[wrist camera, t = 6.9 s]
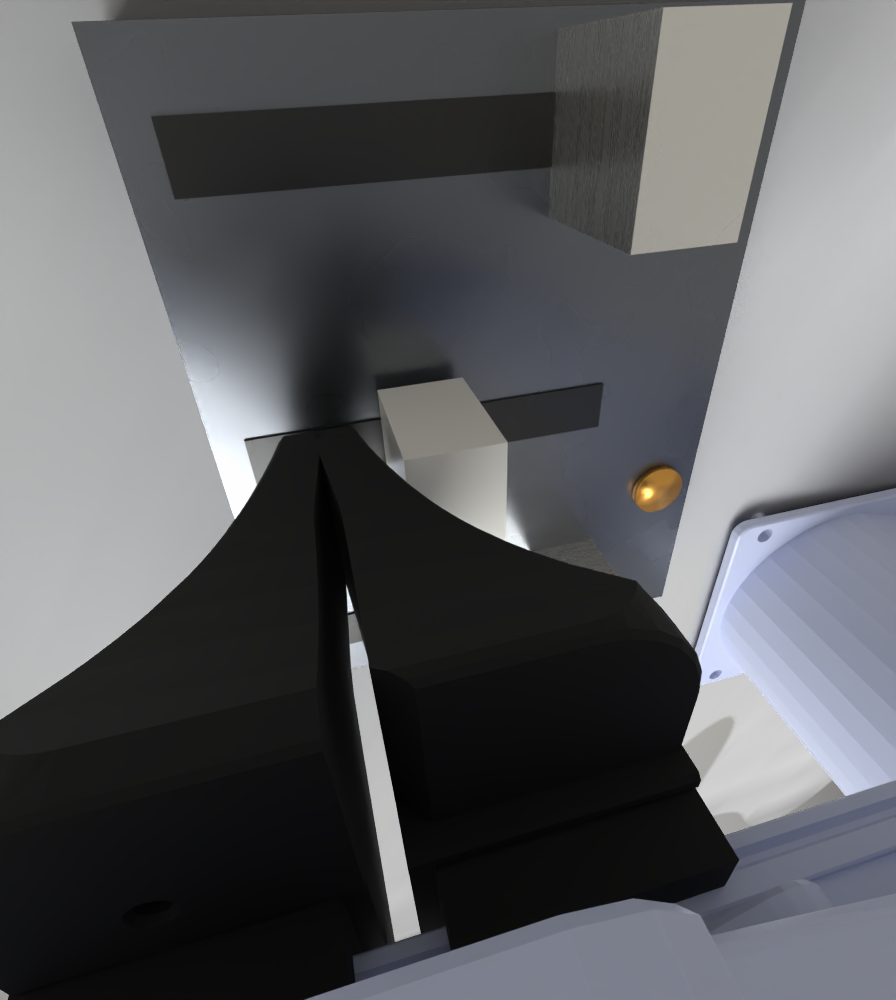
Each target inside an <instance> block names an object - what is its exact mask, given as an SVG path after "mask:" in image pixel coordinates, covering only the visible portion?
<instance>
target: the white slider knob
mask: <svg viewBox="0 0 896 1000" xmlns="http://www.w3.org/2000/svg"><path fill="white" fill-rule="evenodd" d="M377 393H378V400H379V408H380V416H381V424H382V432H383V440H384V448H385V456H386V464H387V465H388V466H389V467H390V468H391V469H393V470H394V471H395V472H396V473H397V474H398V475H399V476H400V477H401V478H403V479H404V480H405V481H406V482H407V483H409V484H410V485H411V486H412V487H414V488H415V489H416V490H417V491H419V492H420V493H421V494H423V495H424V496H425V497H427V498H428V499H429V500H431V501H432V502H434V503H435V504H437V505H438V506H440V507H441V508H443V509H444V510H446V511H448V512H449V513H451V514H453V515H454V516H456V517H458V518H459V519H461V520H463V521H465V522H467V523H469V524H471V525H473V526H474V527H476V528H478V529H481V530H483V531H485V532H487V533H489V534H492V535H494V536H496V537H498V538H500V539H502V540H505V541H506V504H507V450H508V442H507V441H506V439H505V438H504V436H503V435H502V433H501V432H500V431H499V429H498V428H497V426H496V425H495V423H494V422H493V420H492V419H491V418H490V416H489V415H488V413H487V412H486V410H485V409H484V407H483V406H482V405H481V403H480V402H479V400H478V399H477V397H476V396H475V394H474V393H473V392H472V390H471V389H470V387H469V386H468V384H467V383H466V381H465V380H464V379H463V377H462V378H455V379H448V380H442V381H435V382H428V383H422V384H415V385H408V386H402V387H395V388H388V389H382V390H377Z"/></svg>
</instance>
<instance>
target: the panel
mask: <svg viewBox="0 0 896 1000" xmlns="http://www.w3.org/2000/svg"><path fill="white" fill-rule="evenodd" d="M805 1H806V0H728V1H697V2H667V3H636V4H605V5H574V6H543V7H513V8H482V9H451V10H420V11H390V12H359V13H328V14H297V15H267V16H236V17H205V18H174V19H144V20H113V21H82V22H72V25H73V28H74V31H75V34H76V37H77V40H78V43H79V46H80V49H81V52H82V55H83V59H84V62H85V65H86V68H87V71H88V74H89V77H90V80H91V83H92V86H93V89H94V92H95V95H96V98H97V101H98V104H99V107H100V110H101V113H102V116H103V119H104V123H105V126H106V129H107V132H108V135H109V138H110V141H111V144H112V147H113V150H114V153H115V156H116V159H117V162H118V165H119V168H120V171H121V174H122V177H123V180H124V183H125V186H126V190H127V193H128V196H129V199H130V202H131V205H132V208H133V211H134V214H135V217H136V220H137V223H138V226H139V229H140V232H141V235H142V238H143V241H144V244H145V247H146V250H147V253H148V257H149V260H150V263H151V266H152V269H153V272H154V275H155V278H156V281H157V284H158V287H159V290H160V293H161V296H162V299H163V302H164V305H165V308H166V311H167V314H168V317H169V321H170V324H171V327H172V330H173V333H174V336H175V339H176V342H177V345H178V348H179V351H180V354H181V357H182V360H183V363H184V366H185V369H186V372H187V375H188V378H189V381H190V384H191V388H192V391H193V394H194V397H195V400H196V403H197V406H198V409H199V412H200V415H201V418H202V421H203V424H204V427H205V430H206V433H207V436H208V439H209V442H210V445H211V448H212V451H213V455H214V458H215V461H216V464H217V467H218V470H219V473H220V476H221V479H222V482H223V485H224V488H225V491H226V494H227V497H228V500H229V503H230V506H231V509H232V512H233V515H234V518H236V517H237V516H238V514H239V513H240V511H241V510H242V508H243V507H244V506H245V504H246V502H247V501H248V499H249V498H250V496H251V494H252V493H253V491H254V489H255V487H256V486H257V484H258V482H259V481H260V479H261V477H262V476H263V474H264V472H265V470H266V468H267V466H268V464H269V462H270V460H271V458H272V456H273V454H274V452H275V450H276V447H277V445H278V443H279V442H280V440H281V439H282V438H283V436H288V435H294V434H300V433H306V432H312V431H319V430H325V429H331V428H337V427H343V426H351V427H352V428H354V429H355V430H356V431H357V432H358V434H359V435H360V436H361V438H362V439H363V440H364V441H365V442H366V443H367V445H368V446H369V447H370V448H371V449H372V450H373V451H374V452H375V453H376V454H377V455H378V456H379V457H380V458H381V459H382V460H383V461H384V462H385V463H386V456H385V448H384V440H383V432H382V424H381V416H380V408H379V400H378V393H377V390H382V389H388V388H395V387H402V386H408V385H415V384H422V383H428V382H435V381H442V380H448V379H455V378H462V377H463V379H464V380H465V381H466V383H467V384H468V386H469V387H470V389H471V390H472V392H473V393H474V394H475V396H476V397H477V399H478V400H479V402H480V403H481V405H482V406H483V407H484V409H485V410H486V412H487V413H488V415H489V416H490V418H491V419H492V420H493V422H494V423H495V425H496V426H497V428H498V429H499V431H500V432H501V433H502V435H503V436H504V438H505V439H506V441H507V442H508V450H507V504H506V541H507V542H509V543H512V544H514V545H517V546H519V547H522V548H525V549H527V550H530V551H533V552H536V553H538V554H541V555H544V556H547V557H550V558H553V559H556V560H559V561H562V562H565V563H569V564H572V565H576V566H580V567H584V568H588V569H592V570H596V571H600V572H604V573H608V574H612V575H616V576H620V577H624V578H628V579H632V580H636V581H637V582H638V583H639V584H640V585H641V587H642V588H643V589H644V590H645V591H646V592H647V593H648V594H649V595H650V596H651V597H652V598H656V597H660V596H662V593H663V589H664V585H665V581H666V577H667V573H668V569H669V564H670V560H671V556H672V552H673V548H674V544H675V540H676V535H677V531H678V527H679V523H680V519H681V515H682V511H683V506H684V502H685V498H686V494H687V490H688V486H689V482H690V477H691V473H692V469H693V465H694V461H695V457H696V453H697V449H698V444H699V440H700V436H701V432H702V428H703V424H704V420H705V415H706V411H707V407H708V403H709V399H710V395H711V391H712V386H713V382H714V378H715V374H716V370H717V366H718V362H719V357H720V353H721V349H722V345H723V341H724V337H725V333H726V328H727V324H728V320H729V316H730V312H731V308H732V304H733V299H734V295H735V291H736V287H737V283H738V279H739V275H740V270H741V266H742V262H743V258H744V254H745V250H746V246H747V241H748V237H749V233H750V229H751V225H752V221H753V217H754V212H755V208H756V204H757V200H758V196H759V192H760V188H761V183H762V179H763V175H764V171H765V167H766V163H767V159H768V154H769V150H770V146H771V142H772V138H773V134H774V130H775V125H776V121H777V117H778V113H779V109H780V105H781V101H782V96H783V92H784V88H785V84H786V80H787V76H788V72H789V67H790V63H791V59H792V55H793V51H794V47H795V43H796V38H797V34H798V30H799V26H800V22H801V18H802V14H803V9H804V5H805ZM346 589H347V586H346ZM347 606H348V623H349V641H350V658H351V669H354V668H358V667H363V666H367V665H369V664H368V658H367V654H366V650H365V647H364V644H363V640H362V637H361V633H360V630H359V627H358V623H357V620H356V616H355V613H354V610H353V606H352V603H351V599H350V596H349V592H348V589H347Z"/></svg>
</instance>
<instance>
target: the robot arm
mask: <svg viewBox="0 0 896 1000" xmlns="http://www.w3.org/2000/svg"><path fill="white" fill-rule="evenodd" d="M346 586H347V589H348V592H349V596H350V599H351V603H352V606H353V610H354V613H355V616H356V620H357V623H358V627H359V630H360V633H361V637H362V640H363V644H364V647H365V650H366V654H367V658H368V664H369V669H370V674H371V679H372V684H373V689H374V695H375V700H376V705H377V710H378V715H379V720H380V725H381V730H382V735H383V740H384V745H385V751H386V756H387V761H388V766H389V771H390V776H391V781H392V786H393V791H394V796H395V801H396V807H397V812H398V818H399V823H400V828H401V834H402V839H403V845H404V850H405V855H406V861H407V866H408V871H409V875H410V880H411V885H412V891H413V896H414V901H415V906H416V911H417V916H418V921H419V926H420V931H421V934H419V935H416V936H413V937H410V938H407V939H403V940H400V941H397V942H395V941H394V935H393V929H392V923H391V917H390V911H389V905H388V899H387V893H386V888H385V882H384V876H383V870H382V864H381V858H380V852H379V846H378V840H377V834H376V828H375V822H374V816H373V810H372V804H371V798H370V792H369V785H368V779H367V773H366V767H365V761H364V755H363V749H362V743H361V736H360V730H359V724H358V718H357V711H356V705H355V699H354V692H353V683H352V673H351V658H350V641H349V623H348V606H347V589H346ZM744 673H745V674H746V676H747V677H748V678H749V679H750V680H751V682H752V683H753V684H754V685H755V686H756V688H757V689H758V690H759V691H760V692H761V694H762V695H763V696H764V697H765V699H766V700H767V701H768V702H769V703H770V705H771V706H772V707H773V708H774V709H775V711H776V712H777V713H778V714H779V716H780V717H781V718H782V719H783V720H784V722H785V723H786V724H787V725H788V726H789V728H790V729H791V730H792V731H793V733H794V734H795V735H796V736H797V737H798V739H799V740H800V741H801V742H802V743H803V745H804V746H805V747H806V748H807V750H808V751H809V752H810V753H811V754H812V756H813V757H814V758H815V759H816V760H817V762H818V763H819V764H820V765H821V766H822V768H823V769H824V770H825V771H826V773H827V774H828V775H829V776H830V777H831V779H832V780H833V781H834V782H835V783H836V785H837V786H838V787H839V788H840V790H841V791H842V792H843V793H844V794H845V797H842V798H839V799H835V800H832V801H829V802H826V803H823V804H820V805H817V806H814V807H811V808H808V809H805V810H802V811H798V812H796V813H792V814H789V815H786V816H783V817H780V818H777V819H774V820H771V821H768V822H765V823H761V824H758V825H755V826H752V827H749V828H746V829H743V830H740V831H737V832H734V833H731V834H727V835H724V834H723V832H722V831H721V829H720V827H719V826H718V824H717V823H716V821H715V819H714V818H713V816H712V814H711V813H710V811H709V810H708V808H707V806H706V805H705V803H704V801H703V800H702V798H701V797H700V795H699V793H698V792H697V790H696V789H695V788H696V787H699V784H700V782H701V779H700V775H699V771H698V770H697V768H696V767H695V765H694V763H693V762H692V760H691V759H690V757H689V756H688V754H687V752H686V751H685V749H684V748H683V746H682V742H683V739H684V736H685V733H686V730H687V727H688V724H689V721H690V718H691V715H692V712H693V709H694V706H695V703H696V700H697V697H698V694H699V689H700V685H703V684H707V683H711V682H714V681H718V680H722V679H725V678H729V677H733V676H737V675H740V674H744ZM0 990H2V991H4V992H5V993H7V994H8V995H9V997H8V1000H896V488H894V489H889V490H885V491H880V492H875V493H871V494H866V495H861V496H857V497H852V498H847V499H843V500H838V501H834V502H829V503H824V504H820V505H815V506H810V507H806V508H801V509H797V510H792V511H787V512H783V513H778V514H773V515H769V516H764V517H759V518H755V519H750V520H746V521H743V522H741V523H740V524H738V525H737V526H736V527H735V528H734V529H733V531H732V533H731V536H730V539H729V542H728V545H727V548H726V552H725V555H724V558H723V561H722V564H721V568H720V571H719V574H718V577H717V580H716V584H715V587H714V590H713V593H712V596H711V600H710V603H709V606H708V609H707V613H706V616H705V619H704V622H703V625H702V629H701V632H700V635H699V638H698V641H697V645H696V648H695V650H694V649H693V648H692V646H691V645H690V644H689V642H688V641H687V640H686V638H685V637H684V636H683V634H682V633H681V632H680V631H679V629H678V628H677V626H676V625H675V624H674V623H673V621H672V620H671V619H670V618H669V616H668V615H667V614H666V613H665V612H664V610H663V609H662V608H661V607H660V606H659V605H658V604H657V603H656V602H655V601H654V599H653V598H652V597H651V596H650V595H649V594H648V593H647V592H646V591H645V590H644V589H643V588H642V587H641V585H640V584H639V583H638V582H637V581H636V580H632V579H628V578H624V577H620V576H616V575H612V574H608V573H604V572H600V571H596V570H592V569H588V568H584V567H580V566H576V565H572V564H569V563H565V562H562V561H559V560H556V559H553V558H550V557H547V556H544V555H541V554H538V553H536V552H533V551H530V550H527V549H525V548H522V547H519V546H517V545H514V544H512V543H509V542H507V541H505V540H502V539H500V538H498V537H496V536H494V535H492V534H489V533H487V532H485V531H483V530H481V529H478V528H476V527H474V526H473V525H471V524H469V523H467V522H465V521H463V520H461V519H459V518H458V517H456V516H454V515H453V514H451V513H449V512H448V511H446V510H444V509H443V508H441V507H440V506H438V505H437V504H435V503H434V502H432V501H431V500H429V499H428V498H427V497H425V496H424V495H423V494H421V493H420V492H419V491H417V490H416V489H415V488H414V487H412V486H411V485H410V484H409V483H407V482H406V481H405V480H404V479H403V478H401V477H400V476H399V475H398V474H397V473H396V472H395V471H394V470H393V469H391V468H390V467H389V466H388V465H387V464H386V463H385V462H384V461H383V460H382V459H381V458H380V457H379V456H378V455H377V454H376V453H375V452H374V451H373V450H372V449H371V448H370V447H369V446H368V445H367V443H366V442H365V441H364V440H363V439H362V438H361V436H360V435H359V434H358V432H357V431H356V430H355V429H354V428H352V427H351V426H343V427H337V428H331V429H325V430H319V431H312V432H306V433H300V434H294V435H288V436H283V438H282V439H281V440H280V442H279V443H278V445H277V447H276V450H275V452H274V454H273V456H272V458H271V460H270V462H269V464H268V466H267V468H266V470H265V472H264V474H263V476H262V477H261V479H260V481H259V482H258V484H257V486H256V487H255V489H254V491H253V493H252V494H251V496H250V498H249V499H248V501H247V502H246V504H245V506H244V507H243V508H242V510H241V511H240V513H239V514H238V516H237V517H236V518H235V520H234V521H233V523H232V524H231V526H230V527H229V528H228V530H227V531H226V533H225V534H224V535H223V537H222V538H221V539H220V540H219V542H218V543H217V544H216V546H215V547H214V548H213V549H212V550H211V552H210V553H209V554H208V555H207V556H206V557H205V558H204V560H203V561H202V562H201V563H200V564H199V565H198V566H197V567H196V568H195V569H194V570H193V571H192V572H191V574H190V575H189V576H188V577H186V578H185V579H184V580H183V581H182V582H181V583H180V584H179V585H178V586H177V587H176V588H175V589H174V590H173V591H171V592H170V593H169V594H168V595H167V596H166V597H165V598H164V599H163V600H162V601H161V602H160V603H159V604H158V605H156V606H155V607H154V608H153V609H152V610H151V611H150V612H149V613H148V614H147V615H145V616H144V617H143V618H142V619H141V620H140V621H138V622H137V623H136V624H135V625H133V626H132V627H131V628H130V629H129V630H127V631H126V632H125V633H124V634H122V635H121V636H120V637H119V638H117V639H116V640H115V641H114V642H112V643H111V644H110V645H108V646H107V647H106V648H104V649H103V650H102V651H100V652H99V653H98V654H96V655H95V656H94V657H92V658H91V659H90V660H88V661H87V662H86V663H84V664H83V665H81V666H80V667H79V668H77V669H76V670H75V671H73V672H72V673H70V674H69V675H67V676H66V677H64V678H63V679H61V680H60V681H58V682H57V683H55V684H54V685H52V686H51V687H49V688H48V689H46V690H45V691H43V692H42V693H40V694H39V695H37V696H36V697H34V698H33V699H31V700H30V701H28V702H27V703H25V704H24V705H22V706H21V707H19V708H18V709H16V710H15V711H13V712H12V713H10V714H9V715H7V716H6V717H4V718H3V719H1V720H0Z"/></svg>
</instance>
